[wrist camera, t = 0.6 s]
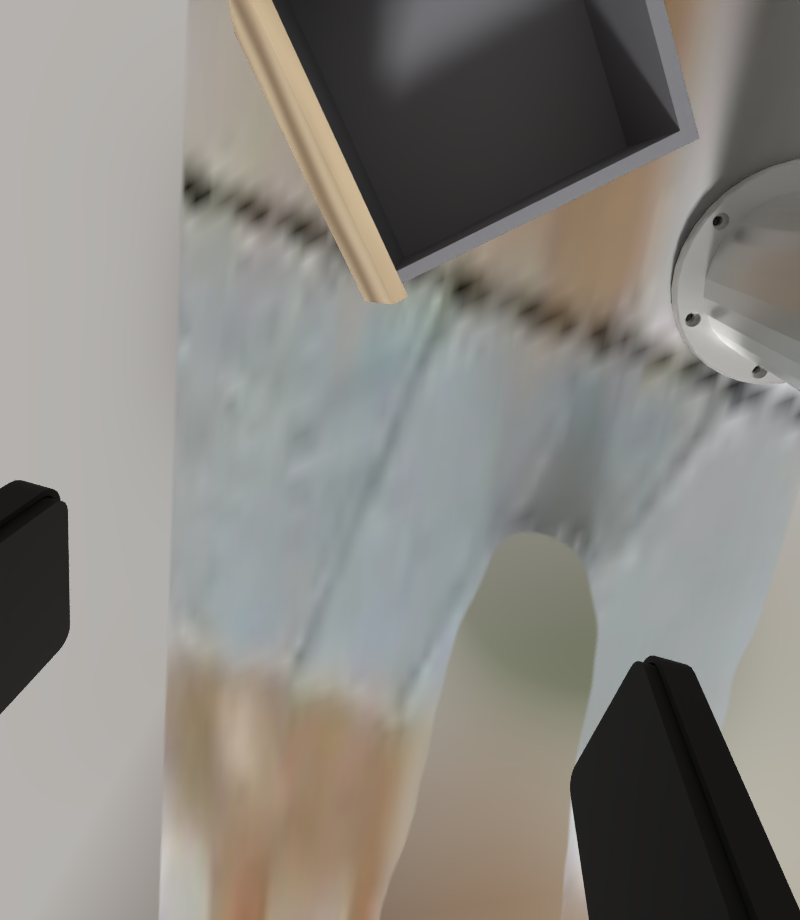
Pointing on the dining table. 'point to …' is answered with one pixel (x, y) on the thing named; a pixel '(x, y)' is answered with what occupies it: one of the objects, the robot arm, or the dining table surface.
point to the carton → (487, 107)
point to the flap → (315, 148)
